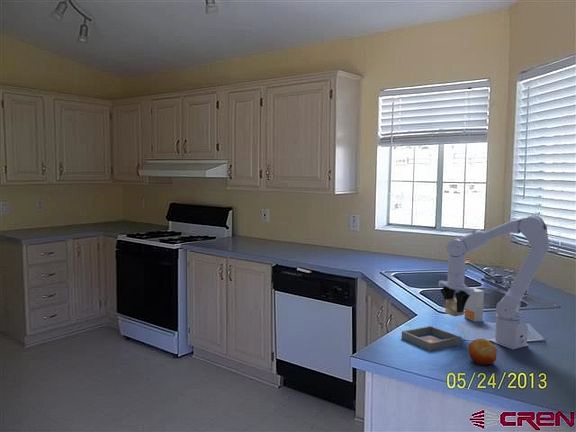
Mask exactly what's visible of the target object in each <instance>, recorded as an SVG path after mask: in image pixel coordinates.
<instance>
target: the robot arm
mask: <svg viewBox="0 0 576 432" xmlns="http://www.w3.org/2000/svg"><path fill="white" fill-rule="evenodd" d="M509 233H513V234H517V235H519V234H520V233H521V234H522V235H523V236H524V237H525V238H526V239H527V241H528V243H529V245H530V248H531V249H530V250H529V251H528V254H527V256H526V258H525V259H524V262H523V263H522V265H521V267H520V269H519V270H518V273H517V275H516V276H515V277H514V280H513V282H512V283H511V285H510V287H509V289H508V291H507V292H506V294H505V295H504V296H503V297H502V298H501V300H500V301H499V302H497V304H496V306H495V311H496V312H495V313H496V315H495V337H493V338H489V339H488V341H489V342H491V343H493V344H494V343H495V344H497V345H500V346H503V347H505V348H507V349H510V350H516V349H520V348H525V347H528V346H529V344H528V324H527V323H526V322H524V321H522V320H521V316H520V315H519V313H518V312H519V310H520V309H521V307H522V306H521V301H522V299H523V297H524V294H525V293H526V291H527V289H528V287H529V286H530V284H531V282H532V280H533V279H534V277H535V275H536V274H537V271H538V269H539V268H540V267H541V266H540V265H541V264H542V262H543V260H545V257H546V256H547V254H548V251H549V249H550V241H549V240H550V239H549V235H548V226H547V225H546V222H545V221H544V219H543V218H542V217H540V216H539V215H536V214H535V215H534V214H533V215H528V216H527V217H521V218H517V219H512V220H510V221H507V222H505V223H503V224H501V225H498V226H495V227H493V228H490V229H489V230H486V231H483V230H480V229H478V230H476V229H473V230H471V233H468V234H465V235H459V236H458V238H455V239H452V240H451V241H449V242H448V243H447V246H446V251H447V253H448V259H447V280H438V287H440V292H441V295H442V297H443V299H444V303H445V304H446V299H452V298H456V299H457V312H463V309H464V310H465V304H466V301H467V300H468V298H469V297H470V295H472V294H474V289H473V288H474V287H469V286H467V285H466V284H465V276H466V275H465V273H466V272H465V271H466V252H467V253H468V252H471V251H472V252H473V251H475V250H478V249H480V248H483V247H485V246H487V245H488V241H490V240H493V239H495V238H498V237H501V236H504V235H507V234H509ZM441 287H442V288H441ZM454 296H455V297H454Z"/></svg>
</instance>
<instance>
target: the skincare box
mask: <svg viewBox="0 0 576 432" xmlns="http://www.w3.org/2000/svg"><path fill="white" fill-rule="evenodd" d="M472 288H473V289H474V294H472V295H470V297H469V298H468V300H467V301H466V304H465V306H464V315H463V316H464V318H465V319H468V320H470V321H472V322H475V323H476V322H477V323H478V322H483V319H484V304H485V303H484V301H485V300H484V299H485V291H484V290H482V289H480V288H476V287H472Z"/></svg>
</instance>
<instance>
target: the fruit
mask: <svg viewBox="0 0 576 432" xmlns="http://www.w3.org/2000/svg"><path fill="white" fill-rule="evenodd" d="M468 354H469V355H468V356H469V357H470V359H471V360H472V362H474V363H475V364H476V365H478V366H479V365H480V366H486V365H493V363H495V362H496V361H497V355H498V349H497V348H496V347H495V344H494V343H493V342H491V341H489V340H487V339H486V338H478V339H477V338H476V339H473V340H471V342H470V343H469V344H468Z"/></svg>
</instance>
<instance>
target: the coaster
mask: <svg viewBox="0 0 576 432" xmlns="http://www.w3.org/2000/svg"><path fill="white" fill-rule="evenodd" d="M421 338H422V339H424V340H426V341H429V342H435V341H440V340H441V339H440V338H439V337H433V336H422V337H421Z"/></svg>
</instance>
